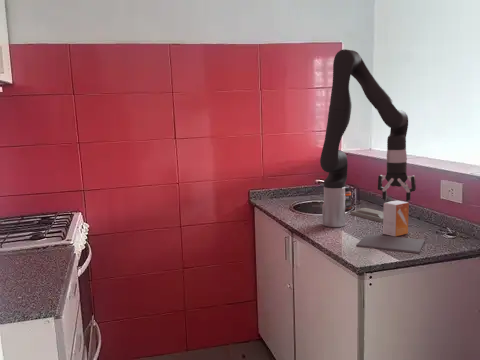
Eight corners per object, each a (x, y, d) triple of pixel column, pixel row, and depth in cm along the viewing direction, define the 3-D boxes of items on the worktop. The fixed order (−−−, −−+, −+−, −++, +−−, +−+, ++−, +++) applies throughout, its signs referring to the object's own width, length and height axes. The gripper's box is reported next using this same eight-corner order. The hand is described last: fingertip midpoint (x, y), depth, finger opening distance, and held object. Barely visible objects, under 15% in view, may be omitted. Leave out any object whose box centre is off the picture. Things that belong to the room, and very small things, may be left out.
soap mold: (380, 223, 203) (381, 215, 202) (350, 215, 220) (350, 208, 219) (397, 220, 207) (397, 212, 207) (365, 212, 225) (365, 205, 224)
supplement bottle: (344, 206, 237) (344, 185, 236) (353, 208, 233) (353, 187, 231) (337, 208, 234) (337, 187, 232) (346, 210, 229) (346, 188, 227)
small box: (395, 237, 178) (396, 204, 176) (382, 233, 184) (383, 202, 182) (408, 233, 183) (409, 202, 181) (395, 230, 188) (395, 199, 186)
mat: (356, 246, 168) (356, 244, 168) (366, 235, 182) (366, 234, 182) (419, 253, 157) (419, 251, 157) (425, 241, 171) (425, 239, 171)
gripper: (376, 161, 179) (376, 201, 181) (414, 162, 172) (413, 203, 174) (380, 159, 185) (380, 198, 188) (416, 160, 179) (416, 200, 181)
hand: (396, 201), depth 181 cm, fingers open, 8 cm apart
